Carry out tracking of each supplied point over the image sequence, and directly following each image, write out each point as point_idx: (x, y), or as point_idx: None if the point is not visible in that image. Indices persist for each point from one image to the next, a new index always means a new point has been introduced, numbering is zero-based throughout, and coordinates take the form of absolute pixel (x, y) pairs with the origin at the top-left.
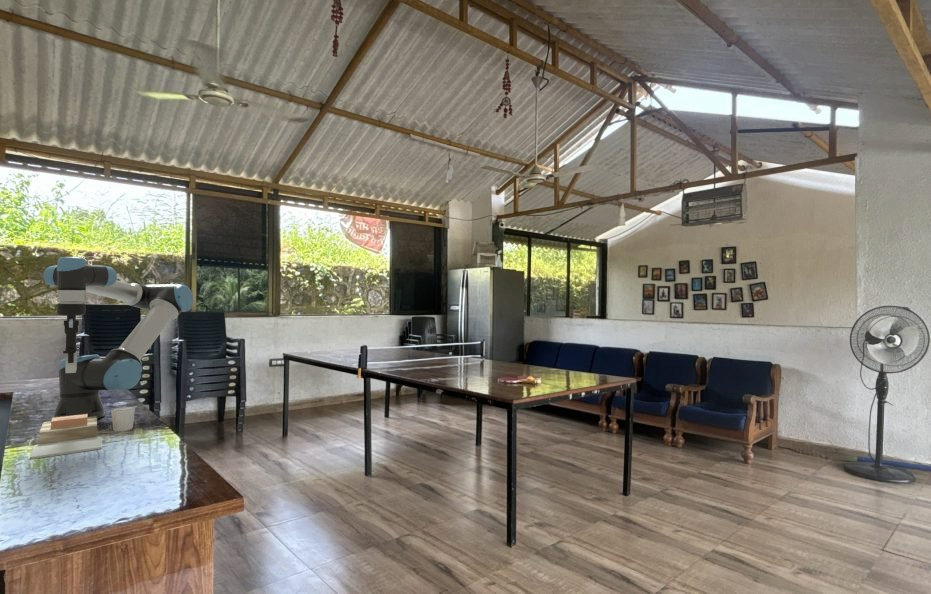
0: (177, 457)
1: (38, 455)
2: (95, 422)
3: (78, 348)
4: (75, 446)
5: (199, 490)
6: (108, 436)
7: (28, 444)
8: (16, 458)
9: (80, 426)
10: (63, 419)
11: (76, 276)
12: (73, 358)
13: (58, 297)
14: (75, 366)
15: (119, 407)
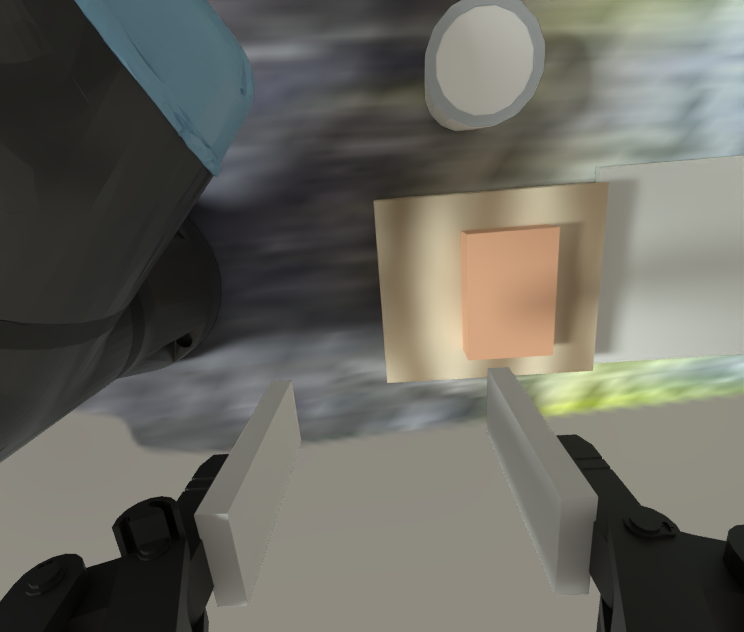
0: None
1: None
2: (530, 194)
3: (144, 523)
4: (711, 241)
5: None
6: (579, 141)
7: (522, 382)
8: (701, 384)
9: (579, 246)
10: (541, 316)
11: None
12: (605, 467)
13: None
14: (528, 397)
15: (440, 84)
